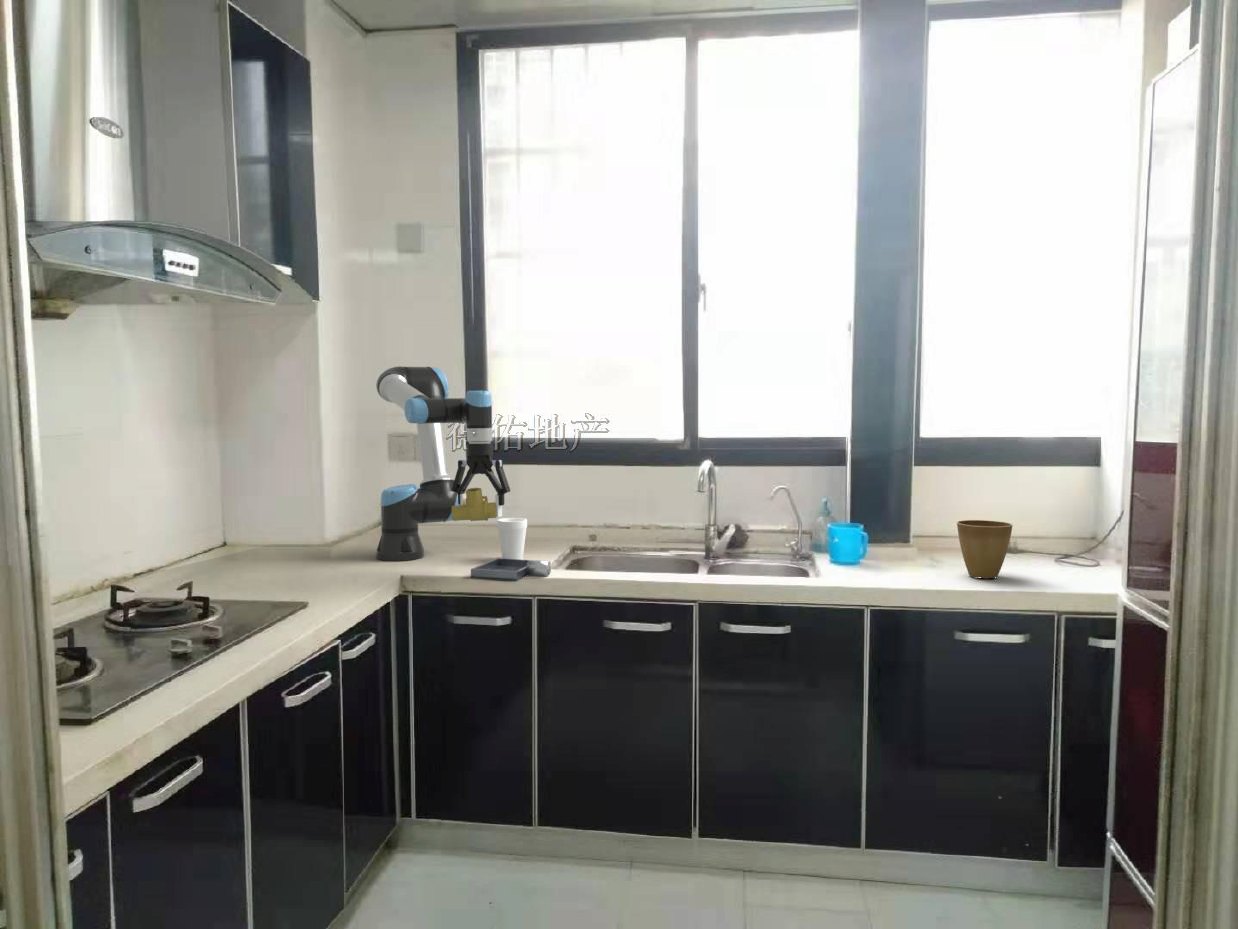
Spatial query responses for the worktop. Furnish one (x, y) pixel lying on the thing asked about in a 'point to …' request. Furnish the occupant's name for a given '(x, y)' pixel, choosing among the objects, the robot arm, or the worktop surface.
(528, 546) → the worktop surface
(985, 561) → the plant pot
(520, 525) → the foam cup
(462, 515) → the ball valve
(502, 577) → the fitting cradle
